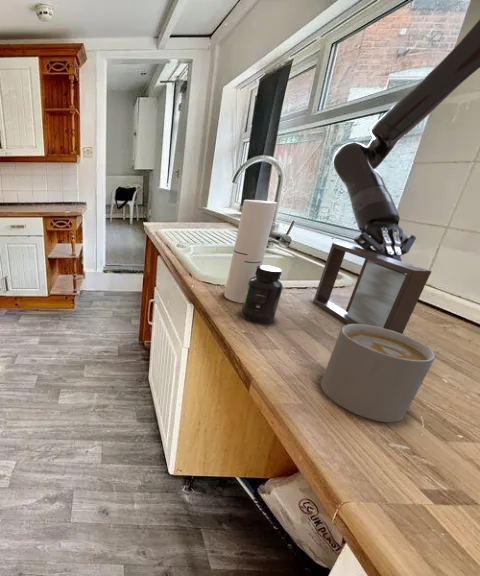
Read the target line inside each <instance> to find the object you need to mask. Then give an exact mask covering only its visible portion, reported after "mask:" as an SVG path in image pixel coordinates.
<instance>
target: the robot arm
mask: <svg viewBox="0 0 480 576" xmlns="http://www.w3.org/2000/svg"><path fill="white" fill-rule="evenodd" d="M479 69H480V18H479V19H478V20H477V21H476V22H475V24H473V26H472V27H471V29H470V30H469V31H468V32H467V33H466V35H465V36H463V38H461V40H460V41H459V42H458V44H456V46H455V47H454V48H453V49H452V50H451V51H450V52H449V53H448V54H447V55H446V56H445V57H444V58H443V59H442V60H441V61H440V62H439V63H438V64H437V65H436V66H435V67H434V68H433V69H432V70H431V71H430V72H429V73H428V74H427V75H426V76H425V77H424V78H423V79H421V80H420V81H419V82H418V83H416V85H415V86H414V87H412V89H411V90H409V91H408V92H407V93H406V94H405V95H404V96H403V97H401V98H400V100H398V101H397V102H396V103H395V104H394V105H393V106H392V107H391V108H390V109H388V111H386V112H385V114H383V115H382V116H381V117H380V118H379V119H377V121H376V122H375V123H374V124H373V125H372V126H371V127H370V131H369V132H370V134H371V136H372V139H371V140H370V142H369V143H368V145H367V146H366V145H364V144H363V143H360V142H348V143H345V144H343V145H342V146H341V147H339V148H338V150H337V151H336V152H335V154H334V155H333V156H334V157H333V161H332V163H333V167H334V171H335V172H336V174H337V175H338V177H339V179H340V181H341V182H342V183H343V185H344V186H345V187H346V189H347V190H346V191H347V194H348V198H349V200H350V204H351V209H352V212H353V215H354V219H355V221H356V225H357V229H358V230H359V232H360V234H359V235H357V236H356V237H355V238H353V242H354V243H355V244H357V246H359V247H360V248H362V249H365V250H368V251H371V252H374V253H377V254H380V255H383V256H386V257H389V258H392V259H395V260H398V261H402V259H401V258H402V256H405V255H406V254H408V253H409V252H410V250H411V247H412V246H413V244H414V243H415V241H416V239H417V237H416V235H413V234H411V235H407V234H405V233H404V230H403V229H402V228H401V227H400V226H399V223H400V219H401V216H400V214H399V212H398V210H397V207H396V205H395V202H394V200H393V197H392V195H391V193H390V192H389V191H388V189H387V186H386V184H385V181H384V178H383V177H382V175H381V173H380V172H378V171H377V170H376V169H377V168H378V167H379V166H380V165H381V164H382V162H383V161H385V159H386V157H388V155H389V154H390V153H391V152H392V150H393V149H394V148H395V146H396V145H397V143H399V141H400V140H402V139H403V138H404V137H405V136H406V135H407V134H409V133H410V132H411V131H412V130H414V128H416V126H417V127H418V125H419V124H420V123H421V122H422V121H423V120H425V119H426V118H427V117H428V116H429V115H430V114H431V113H432V112H433V111H435V110H436V108H438V107H439V106H440V105H441V104H442V103H443V102H444V101H445V100H446V99H447V98H448V97H449V96H450V95H452V93H453V92H454V91H455V90H457V88H459V86H460V85H462V83H463V82H465V81H466V80H467V79H469V77H471V76H472V75H473V74H474V73H475V72H476V71H478V70H479ZM402 262H403V261H402Z"/></svg>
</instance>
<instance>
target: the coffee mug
mask: <svg viewBox="0 0 480 576" xmlns="http://www.w3.org/2000/svg"><path fill="white" fill-rule="evenodd" d="M435 359H436V354H435V353H434V351H433V350H432V349H431V348H430V347H429V346H427V344H424V343H422V342H421V341H418V340H417V339H415V338H413V337H411V336H408V335H407V334H406V335H405V334H404V333H403V334H400V333H398V332H395V331H392V330H388V329H384V328H381V327H376V326H371V325H364V324H348V325H347V324H345V325H343V326H342V327H341V329H340V331H339V334H338V336H337V339H336V341H335V344H334V346H333V349H332V352H331V355H330V357H329V360H328V362H327V364H326V367H325V370H324V373H323V375H322V378H321V381H320V387H321V390H322V391H323V393H324V394H325V395H326V396H327V397H328V398H329V399H330V400H331V401H332V402H334V403H336V404H337V405H338V406H340V407H341V408H343V409H345V410H347V411H349V412H350V413H353V414H354V415H358V416H360V417H363V418H365V419H369V420H371V421H376V422H382V423H398V422H400V421H402V420H403V419H404V417H405V416H406V414H407V412H408V410H409V408H410V406H411V405H412V403H413V401H414V400H415V396H416V395H417V393H418V391H419V389H420V387H421V385H422V383H423V381H424V379H425V378H426V376H427V374H428V372H429V371H430V368H431V366H432V364H433V363H434V361H435Z"/></svg>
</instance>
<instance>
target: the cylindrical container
mask: <svg viewBox="0 0 480 576" xmlns="http://www.w3.org/2000/svg"><path fill="white" fill-rule="evenodd" d="M277 207H278V202H277V201H271V200H259V199H244V200H243V204H242V209H241V213H240V218H239V224H238V228H237V233H236V238H235V242H234V243H235V244H234V247H233V252H232V256H231V260H230V261H231V262H230V266H229V271H228V276H227V281H226V285H225V290H224V294H223V295H224V297H225V298H226V299H228V301H229V300H230V301H232V302H235V303H239V304H243V303H244V298H245V294H246V290H247V286H248V282H249V280H250V279H251V278H252V277H255V276H256V275H255V273H256V270H257V266H260V265H263V262H264V258H265V255H266V251H267V247H268V242H269V238H270V234H271V230H272V227H273V222H274V218H275V214H276V209H277Z"/></svg>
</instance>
